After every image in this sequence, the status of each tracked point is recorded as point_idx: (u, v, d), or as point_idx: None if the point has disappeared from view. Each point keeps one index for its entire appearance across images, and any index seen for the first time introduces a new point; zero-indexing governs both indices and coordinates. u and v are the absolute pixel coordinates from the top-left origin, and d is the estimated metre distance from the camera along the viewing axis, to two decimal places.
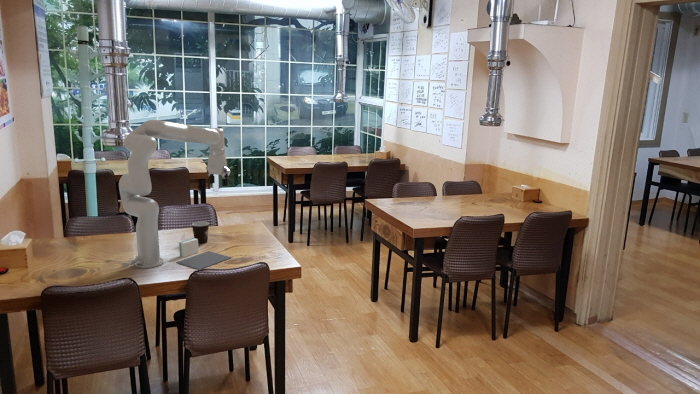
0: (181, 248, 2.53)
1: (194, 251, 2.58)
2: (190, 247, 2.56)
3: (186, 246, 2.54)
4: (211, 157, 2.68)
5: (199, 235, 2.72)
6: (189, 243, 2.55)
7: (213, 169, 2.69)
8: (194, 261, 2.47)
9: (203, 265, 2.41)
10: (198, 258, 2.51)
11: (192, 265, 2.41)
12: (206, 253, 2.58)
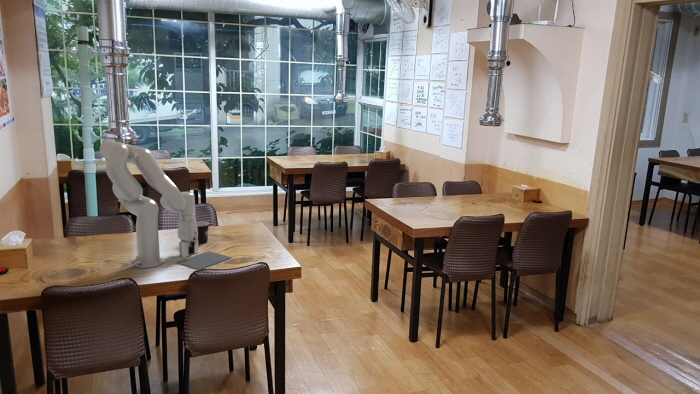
0: (181, 248, 2.53)
1: None
2: None
3: (186, 246, 2.54)
4: (181, 222, 2.53)
5: (199, 235, 2.72)
6: None
7: (182, 236, 2.54)
8: (194, 261, 2.47)
9: (203, 265, 2.41)
10: (198, 258, 2.51)
11: (192, 265, 2.41)
12: (206, 253, 2.58)
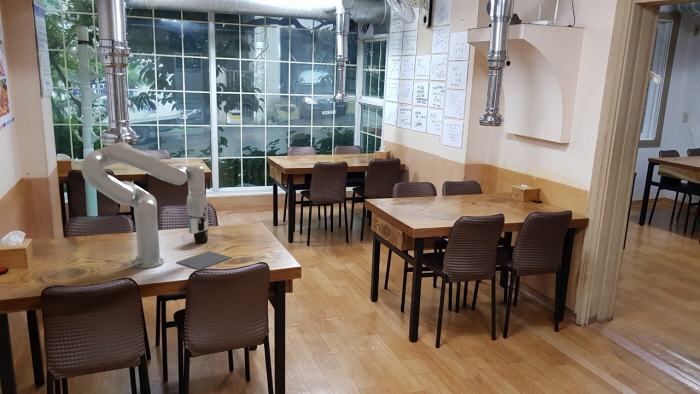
0: (190, 224, 2.43)
1: (204, 228, 2.49)
2: None
3: (195, 222, 2.44)
4: (190, 198, 2.43)
5: (199, 235, 2.72)
6: None
7: (192, 211, 2.44)
8: (194, 261, 2.47)
9: (203, 265, 2.41)
10: (198, 258, 2.51)
11: (192, 265, 2.41)
12: (206, 253, 2.58)
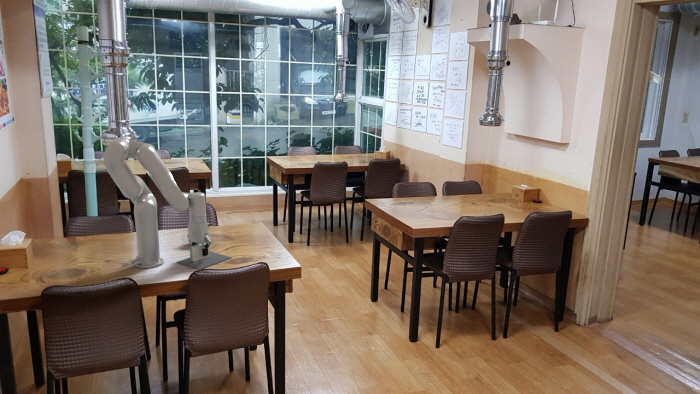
0: (192, 252, 2.46)
1: None
2: (201, 251, 2.49)
3: (196, 250, 2.47)
4: (191, 224, 2.46)
5: None
6: (200, 247, 2.48)
7: (193, 237, 2.46)
8: None
9: (203, 265, 2.41)
10: None
11: (192, 265, 2.41)
12: None
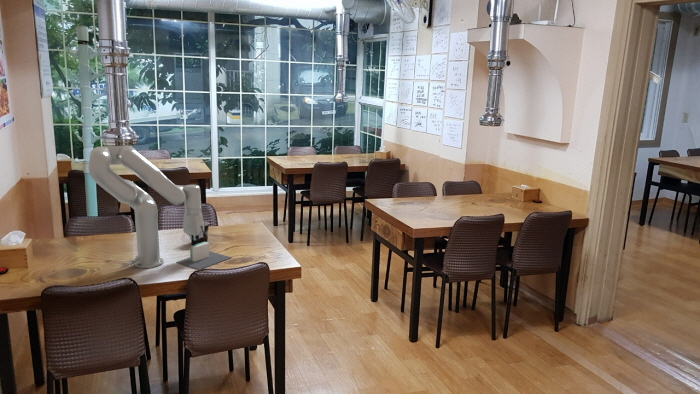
0: (192, 252, 2.46)
1: (205, 255, 2.52)
2: (201, 251, 2.49)
3: (197, 250, 2.47)
4: (186, 216, 2.47)
5: None
6: (200, 247, 2.48)
7: (188, 230, 2.48)
8: None
9: (203, 265, 2.41)
10: None
11: (192, 265, 2.41)
12: None
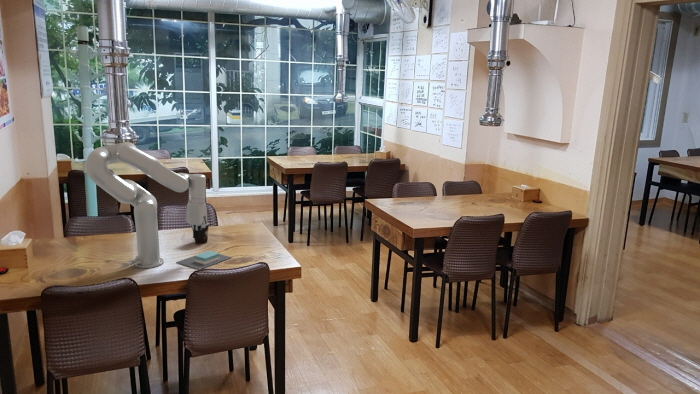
0: (200, 260, 2.44)
1: None
2: None
3: None
4: (190, 206, 2.43)
5: None
6: None
7: (191, 219, 2.44)
8: (194, 261, 2.47)
9: (203, 265, 2.41)
10: None
11: (192, 265, 2.41)
12: None
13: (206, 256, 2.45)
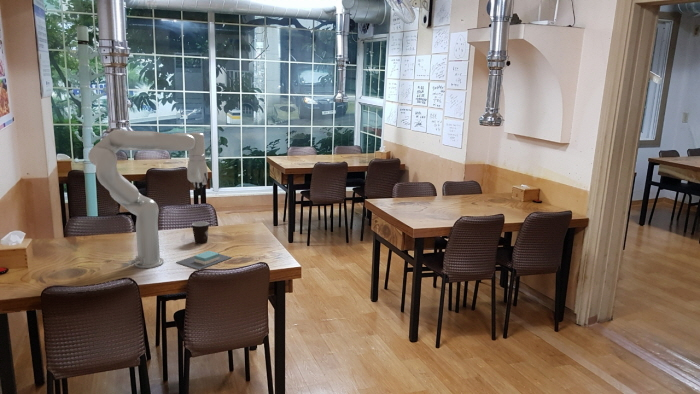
0: (200, 260, 2.44)
1: None
2: None
3: None
4: (190, 163, 2.50)
5: (199, 235, 2.72)
6: None
7: (192, 177, 2.51)
8: (194, 261, 2.47)
9: (203, 265, 2.41)
10: None
11: (192, 265, 2.41)
12: None
13: (206, 256, 2.45)
